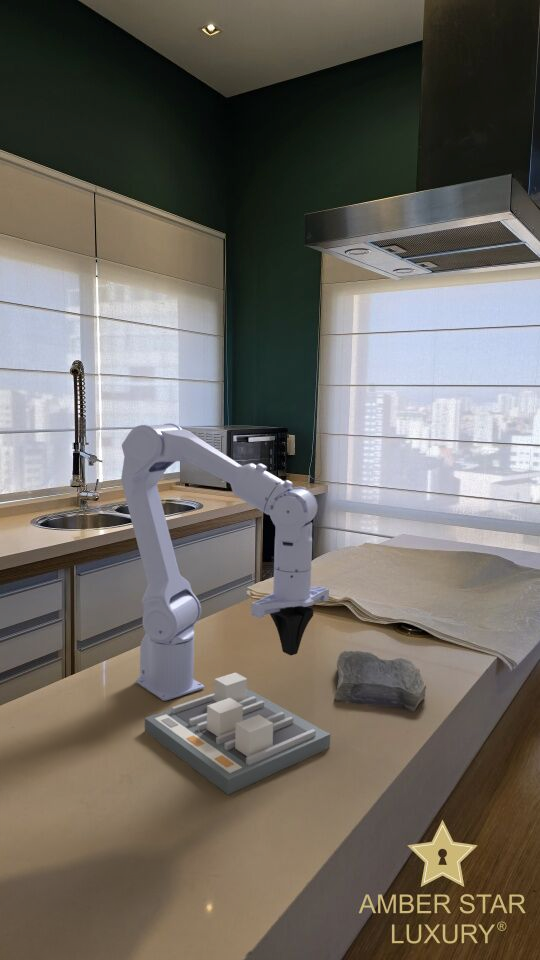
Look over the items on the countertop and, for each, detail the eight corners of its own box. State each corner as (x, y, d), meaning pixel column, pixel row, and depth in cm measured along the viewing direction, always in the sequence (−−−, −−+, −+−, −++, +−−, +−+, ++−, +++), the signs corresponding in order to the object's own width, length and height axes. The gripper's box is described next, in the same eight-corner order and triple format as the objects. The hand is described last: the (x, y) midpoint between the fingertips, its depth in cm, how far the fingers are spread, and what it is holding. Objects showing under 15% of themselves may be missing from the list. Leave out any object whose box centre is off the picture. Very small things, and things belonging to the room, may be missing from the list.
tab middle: (206, 729, 93) (207, 705, 93) (229, 720, 96) (229, 697, 96) (219, 737, 91) (219, 713, 91) (242, 728, 94) (242, 705, 93)
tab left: (214, 700, 102) (214, 678, 102) (234, 693, 105) (235, 672, 104) (226, 707, 100) (226, 685, 100) (246, 700, 103) (247, 678, 102)
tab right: (235, 748, 89) (235, 723, 88) (258, 738, 91) (258, 714, 91) (249, 757, 86) (249, 732, 86) (272, 747, 89) (273, 723, 89)
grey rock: (423, 716, 105) (425, 693, 104) (325, 702, 109) (326, 680, 108) (426, 677, 119) (427, 657, 119) (340, 666, 123) (340, 646, 123)
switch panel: (144, 730, 97) (144, 712, 97) (241, 697, 109) (241, 680, 108) (228, 794, 82) (228, 773, 82) (329, 747, 94) (330, 728, 93)
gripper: (274, 581, 94) (271, 672, 96) (344, 566, 103) (340, 649, 105) (243, 570, 99) (241, 657, 101) (312, 557, 109) (309, 636, 110)
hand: (289, 652), depth 103 cm, fingers closed
